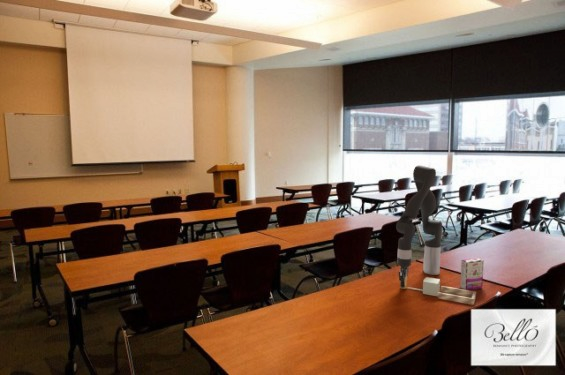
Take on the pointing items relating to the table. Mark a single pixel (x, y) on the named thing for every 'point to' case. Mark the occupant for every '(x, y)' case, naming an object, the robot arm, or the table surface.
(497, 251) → the table surface
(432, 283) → the tethered block
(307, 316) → the table surface
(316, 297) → the table surface
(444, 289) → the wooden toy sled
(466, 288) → the candy bar box
